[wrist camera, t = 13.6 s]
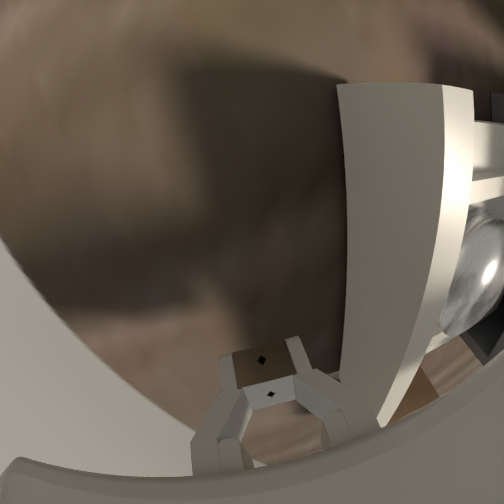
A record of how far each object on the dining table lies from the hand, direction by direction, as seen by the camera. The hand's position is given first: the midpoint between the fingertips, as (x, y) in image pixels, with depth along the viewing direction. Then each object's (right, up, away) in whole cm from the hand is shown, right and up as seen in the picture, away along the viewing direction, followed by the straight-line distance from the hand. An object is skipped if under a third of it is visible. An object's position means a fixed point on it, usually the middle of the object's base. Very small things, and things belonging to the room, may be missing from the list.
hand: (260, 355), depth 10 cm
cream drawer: (+11, +4, +3) cm, 12 cm away
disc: (+11, +3, +1) cm, 11 cm away
